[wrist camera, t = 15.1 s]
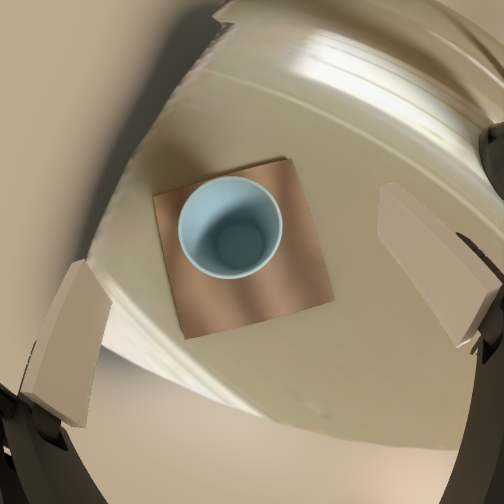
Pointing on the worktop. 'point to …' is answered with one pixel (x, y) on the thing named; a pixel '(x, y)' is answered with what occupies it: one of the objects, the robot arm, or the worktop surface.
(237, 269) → the cup
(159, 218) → the board
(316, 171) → the worktop surface
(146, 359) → the worktop surface
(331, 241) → the worktop surface
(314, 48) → the worktop surface
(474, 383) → the robot arm
